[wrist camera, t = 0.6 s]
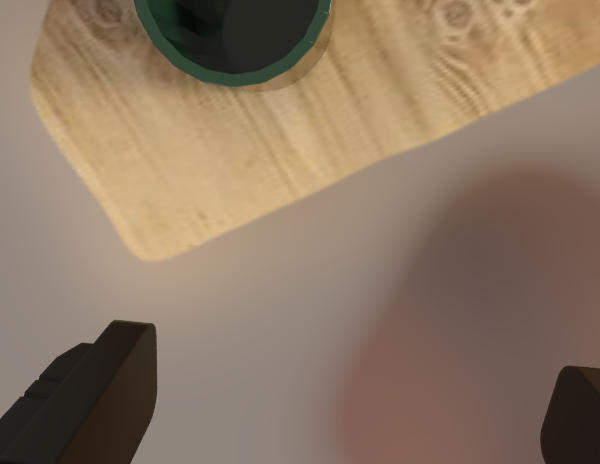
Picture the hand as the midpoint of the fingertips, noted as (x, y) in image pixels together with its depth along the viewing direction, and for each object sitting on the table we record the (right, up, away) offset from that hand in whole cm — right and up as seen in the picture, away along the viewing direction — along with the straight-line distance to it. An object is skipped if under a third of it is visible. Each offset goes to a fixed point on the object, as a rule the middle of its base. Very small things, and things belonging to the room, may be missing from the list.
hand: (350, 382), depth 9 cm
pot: (-4, +19, +24) cm, 31 cm away
